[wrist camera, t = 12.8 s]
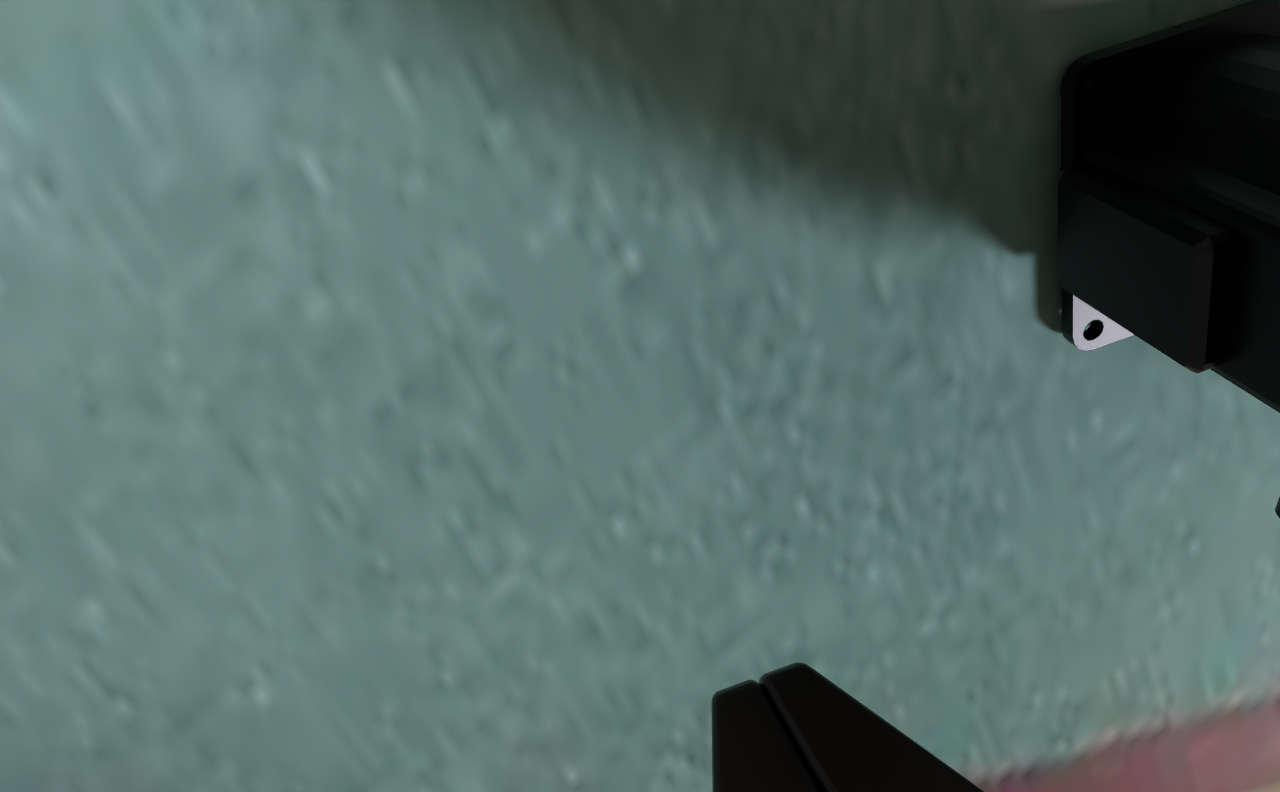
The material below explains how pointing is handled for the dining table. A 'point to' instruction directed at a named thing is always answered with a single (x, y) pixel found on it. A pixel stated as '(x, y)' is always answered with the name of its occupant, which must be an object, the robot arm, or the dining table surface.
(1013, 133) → the dining table surface
